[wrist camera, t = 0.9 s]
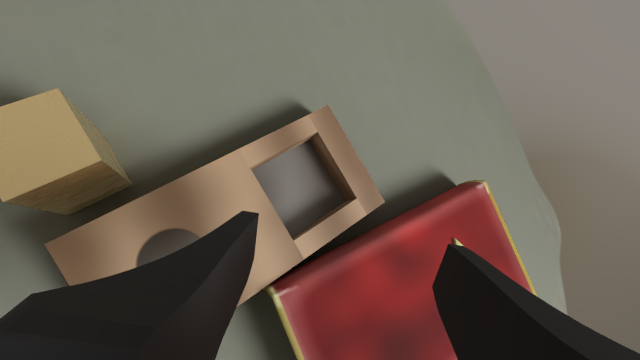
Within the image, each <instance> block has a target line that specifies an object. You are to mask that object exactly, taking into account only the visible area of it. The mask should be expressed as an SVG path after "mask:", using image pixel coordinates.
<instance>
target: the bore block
mask: <svg viewBox="0 0 640 360" xmlns="http://www.w3.org/2000/svg"><path fill="white" fill-rule="evenodd" d="M384 202H385V201H384V199H383V198H382V196H381V194H380V192H379V191H378V189H377V187H376V186H375V184H374V182H373V181H372V179H371V177H370V175H369V174H368V172H367V170H366V169H365V167H364V165H363V164H362V162H361V160H360V159H359V157H358V155H357V153H356V152H355V150H354V148H353V147H352V145H351V143H350V142H349V140H348V138H347V137H346V135H345V133H344V131H343V130H342V128H341V126H340V125H339V123H338V121H337V120H336V118H335V116H334V114H333V113H332V111H331V109H330V108H329V106H328V105H327V106H325V107H323V108H321V109H319V110H317V111H315V112H313V113H311V114H309V115H307V116H305V117H303V118H301V119H299V120H296V121H294V122H292V123H290V124H288V125H286V126H284V127H282V128H280V129H278V130H276V131H274V132H272V133H270V134H268V135H266V136H264V137H262V138H260V139H258V140H256V141H254V142H252V143H250V144H248V145H246V146H244V147H241V148H239V149H237V150H235V151H233V152H231V153H229V154H227V155H225V156H223V157H221V158H219V159H217V160H215V161H213V162H211V163H209V164H207V165H205V166H203V167H201V168H199V169H197V170H195V171H193V172H191V173H189V174H186V175H184V176H182V177H180V178H178V179H176V180H174V181H172V182H170V183H168V184H166V185H164V186H162V187H160V188H158V189H156V190H154V191H152V192H150V193H148V194H146V195H144V196H142V197H140V198H138V199H136V200H133V201H131V202H129V203H127V204H125V205H123V206H121V207H119V208H117V209H115V210H113V211H111V212H109V213H107V214H105V215H103V216H101V217H99V218H97V219H95V220H93V221H91V222H89V223H87V224H85V225H83V226H81V227H78V228H76V229H74V230H72V231H70V232H68V233H66V234H64V235H62V236H60V237H58V238H56V239H54V240H52V241H50V242H48V243H46V244H44V245H45V247H46V248H47V250H48V252H49V253H50V255H51V256H52V258H53V260H54V261H55V263H56V265H57V266H58V268H59V270H60V271H61V273H62V274H63V276H64V278H65V279H66V281H67V283H68V284H69V286H72V285H77V284H81V283H85V282H89V281H93V280H97V279H101V278H104V277H108V276H111V275H115V274H118V273H121V272H124V271H127V270H130V269H133V268H136V267H139V266H141V265H144V264H147V263H149V262H152V261H155V260H157V259H160V258H162V257H165V256H167V255H169V254H171V253H173V252H176V251H178V250H180V249H182V248H184V247H186V246H188V245H190V244H191V243H193V242H195V241H196V240H198V239H200V238H202V237H203V236H205V235H207V234H208V233H210V232H212V231H213V230H215V229H216V228H218V227H219V226H221V225H222V224H224V223H225V222H227V221H228V220H229V219H231V218H232V217H234V216H235V215H237V214H238V213H240V212H241V211H249V212H255V213H259V217H258V227H257V236H256V246H255V255H254V261H253V264H252V268H251V271H250V274H249V278H248V281H247V284H246V286H245V288H244V291H243V293H242V295H241V298H240V300H239V302H238V304H237V307H238V306H239V305H240V304H242V303H243V302H245V301H246V300H248V299H249V298H250V297H252V296H253V295H255V294H256V293H257V292H259V291H260V290H262V289H263V288H264V287H266V286H267V285H269V284H270V283H271V282H273V281H274V280H276V279H277V278H279V277H280V276H281V275H283V274H284V273H286V272H287V271H288V270H290V269H291V268H293V267H294V266H295V265H297V264H298V263H300V262H301V261H303V260H304V259H305V258H307V257H308V256H310V255H311V254H312V253H314V252H315V251H317V250H318V249H319V248H321V247H322V246H324V245H325V244H326V243H328V242H329V241H331V240H332V239H334V238H335V237H336V236H338V235H339V234H341V233H342V232H343V231H345V230H346V229H348V228H349V227H350V226H352V225H353V224H355V223H356V222H357V221H359V220H360V219H362V218H363V217H365V216H366V215H367V214H369V213H370V212H372V211H373V210H374V209H376V208H377V207H379V206H380V205H381V204H383V203H384Z"/></svg>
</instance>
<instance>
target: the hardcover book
mask: <svg viewBox="0 0 640 360" xmlns="http://www.w3.org/2000/svg"><path fill="white" fill-rule="evenodd" d="M448 244H453V245H460V246H465V247H466V248H468V249H470V250H471V251H473V252H475V253H476V254H477V255H479V256H480V257H482V258H483V259H485V260H486V261H487V262H489V263H490V264H492V265H493V266H494V267H496V268H497V269H498V270H500V271H501V272H503V273H504V274H505V275H507V276H508V277H509V278H511V279H512V280H514V281H515V282H517V283H518V284H519V285H521V286H522V287H524V288H525V289H527V290H528V291H529V292H531V293H532V294H534V295H536V296H537V294H536V292H535V289H534V287H533V285H532V283H531V280H530V278H529V276H528V274H527V271H526V269H525V267H524V265H523V262H522V260H521V258H520V256H519V253H518V251H517V249H516V247H515V244H514V242H513V240H512V238H511V235H510V233H509V231H508V229H507V226H506V224H505V222H504V220H503V217H502V215H501V213H500V211H499V208H498V206H497V204H496V202H495V199H494V197H493V195H492V193H491V191H490V188H489V186H488V184H487V182H486V181H483V180H473V181H467V182H464V183H461V184H459V185H457V186H455V187H453V188H451V189H449V190H447V191H445V192H443V193H442V194H440V195H438V196H436V197H434V198H432V199H430V200H428V201H426V202H424V203H422V204H420V205H418V206H416V207H414V208H412V209H410V210H408V211H406V212H404V213H402V214H400V215H399V216H397V217H395V218H393V219H391V220H389V221H387V222H385V223H383V224H381V225H379V226H377V227H375V228H373V229H371V230H369V231H367V232H365V233H363V234H361V235H359V236H357V237H356V238H354V239H352V240H350V241H348V242H346V243H344V244H342V245H340V246H338V247H336V248H334V249H332V250H330V251H328V252H326V253H324V254H322V255H320V256H318V257H316V258H315V259H313V260H311V261H309V262H307V263H305V264H303V265H301V266H299V267H297V268H295V269H293V270H291V271H289V272H287V273H285V274H283V275H281V276H280V277H279V278H277V279H276V280H274V281H273V282H271V283H270V284H269V285H267V286H266V287H264V288H263V291H264V290H265V291H266V292H267V293H268V294H269V295H270V296H271V297H272V300H273V302H274V305H275V307H276V310H277V312H278V314H279V317H280V319H281V322H282V324H283V327H284V329H285V332H286V334H287V336H288V339H289V341H290V344H291V346H292V349H293V351H294V354H295V356H296V358H297V360H458V359H457V357H456V354H455V352H454V349H453V347H452V344H451V342H450V340H449V337H448V335H447V332H446V330H445V327H444V325H443V322H442V320H441V317H440V315H439V312H438V309H437V305H436V302H435V297H434V293H433V289H432V285H433V282H434V280H435V277H436V275H437V272H438V269H439V267H440V264H441V262H442V259H443V256H444V254H445V251H446V249H447V246H448ZM537 297H538V296H537Z"/></svg>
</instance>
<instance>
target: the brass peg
mask: <svg viewBox="0 0 640 360" xmlns="http://www.w3.org/2000/svg"><path fill="white" fill-rule="evenodd" d="M132 185H133V184H132V183H131V181H130V179H129V178H128V176H127V174H126V173H125V171H124V169H123V168H122V166H121V164H120V163H119V161H118V160H117V158H116V156H115V155H114V153H113V151H112V150H111V148H110V146H109V145H108V143H107V141H106V140H105V138H104V136H103V135H102V134H101V133H100V132H99V131H98V129H97V128H96V127H95V126H94V125H93V124H92V123H91V122H90V121H89V120H88V119H87V118H86V117H85V116H84V115H83V114H82V113H81V112H80V111H79V110H78V109H77V107H76V106H75V105H74V104H73V103H72V102H71V101H70V100H69V99H68V98H67V97H66V96H65V95H64V94H63V93H62V92H61V91H60V90H59V89H58V88H57V89H53V90H50V91H47V92H44V93H41V94H38V95H35V96H32V97H29V98H26V99H23V100H19V101H16V102H13V103H10V104H7V105H4V106H1V107H0V198H1V200H2V202H4V203H9V204H15V205H20V206H25V207H30V208H35V209H40V210H45V211H50V212H55V213H60V214H65V215H70V214H72V213H74V212H77V211H79V210H81V209H83V208H85V207H87V206H89V205H91V204H93V203H96V202H98V201H100V200H102V199H104V198H106V197H108V196H110V195H113V194H115V193H117V192H119V191H121V190H123V189H125V188H127V187H130V186H132Z"/></svg>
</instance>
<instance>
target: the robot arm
mask: <svg viewBox="0 0 640 360" xmlns="http://www.w3.org/2000/svg"><path fill="white" fill-rule="evenodd" d="M258 217H259V213H255V212H249V211H241V212H240V213H238V214H237V215H235V216H234V217H232V218H231V219H229V220H228V221H227V222H225V223H224V224H222V225H221V226H219V227H218V228H216V229H215V230H213V231H212V232H210V233H208V234H207V235H205V236H203V237H202V238H200V239H198V240H196V241H195V242H193V243H191V244H190V245H188V246H186V247H184V248H182V249H180V250H178V251H176V252H173V253H171V254H169V255H167V256H165V257H162V258H160V259H157V260H155V261H152V262H149V263H147V264H144V265H141V266H139V267H136V268H133V269H130V270H127V271H124V272H121V273H118V274H115V275H111V276H108V277H104V278H101V279H97V280H93V281H89V282H85V283H81V284H77V285H72V286H67V287H63V288H58V289H53V290H49V291H44V292H39V293H33V294H31V295H30V296H28V297H27V298H26V299H24V300H23V301H22V302H21V303H19V304H18V305H17V306H16V307H14V308H13V309H12V310H11V311H9V312H8V313H7V314H6V315H4V316H3V317H2V318H1V319H0V360H215V358H216V355H217V352H218V349H219V347H220V344H221V341H222V339H223V336H224V334H225V332H226V329H227V327H228V325H229V323H230V320H231V318H232V316H233V314H234V311H235V309H236V307H237V304H238V302H239V300H240V298H241V295H242V293H243V291H244V288H245V286H246V284H247V281H248V278H249V274H250V271H251V268H252V264H253V261H254V255H255V246H256V236H257V227H258ZM432 289H433V293H434V297H435V302H436V305H437V309H438V312H439V315H440V317H441V320H442V322H443V325H444V327H445V330H446V332H447V335H448V337H449V340H450V342H451V344H452V347H453V349H454V352H455V354H456V357H457V359H458V360H640V354H639V353H637V352H635V351H633V350H631V349H629V348H626V347H625V346H623V345H621V344H618V343H617V342H615V341H613V340H611V339H609V338H607V337H605V336H603V335H601V334H599V333H597V332H595V331H593V330H592V329H590V328H588V327H586V326H585V325H583V324H581V323H579V322H578V321H576V320H574V319H572V318H571V317H569V316H567V315H566V314H564V313H562V312H561V311H559V310H557V309H556V308H554V307H552V306H551V305H549V304H548V303H546V302H545V301H543V300H542V299H540V298H539V297H537V296H536V295H534V294H532V293H531V292H529V291H528V290H527V289H525V288H524V287H522V286H521V285H519V284H518V283H517V282H515V281H514V280H512V279H511V278H509V277H508V276H507V275H505V274H504V273H503V272H501V271H500V270H498V269H497V268H496V267H494V266H493V265H492V264H490V263H489V262H487V261H486V260H485V259H483V258H482V257H480V256H479V255H477V254H476V253H475V252H473V251H471V250H470V249H468V248H466V247H465V246H460V245H453V244H448V246H447V249H446V251H445V254H444V256H443V259H442V262H441V264H440V267H439V269H438V272H437V275H436V277H435V280H434V282H433V285H432Z"/></svg>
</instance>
